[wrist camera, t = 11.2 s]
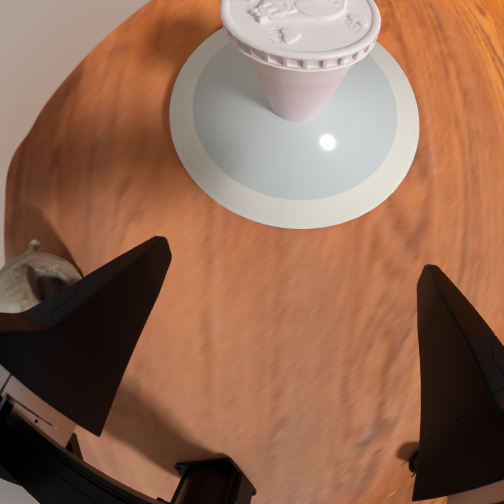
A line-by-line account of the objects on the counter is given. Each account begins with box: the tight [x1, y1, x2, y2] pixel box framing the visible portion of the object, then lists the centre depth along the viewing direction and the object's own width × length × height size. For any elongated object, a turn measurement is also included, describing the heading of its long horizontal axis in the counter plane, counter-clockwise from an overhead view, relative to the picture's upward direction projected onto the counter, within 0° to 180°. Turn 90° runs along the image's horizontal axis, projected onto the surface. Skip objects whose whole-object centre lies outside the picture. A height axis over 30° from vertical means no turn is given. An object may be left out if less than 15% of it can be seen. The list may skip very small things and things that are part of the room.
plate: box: [169, 28, 419, 229], centre depth 17 cm, size 18×18×1 cm
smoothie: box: [220, 0, 381, 122], centre depth 10 cm, size 6×6×14 cm
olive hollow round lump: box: [0, 239, 82, 313], centre depth 17 cm, size 9×8×10 cm
